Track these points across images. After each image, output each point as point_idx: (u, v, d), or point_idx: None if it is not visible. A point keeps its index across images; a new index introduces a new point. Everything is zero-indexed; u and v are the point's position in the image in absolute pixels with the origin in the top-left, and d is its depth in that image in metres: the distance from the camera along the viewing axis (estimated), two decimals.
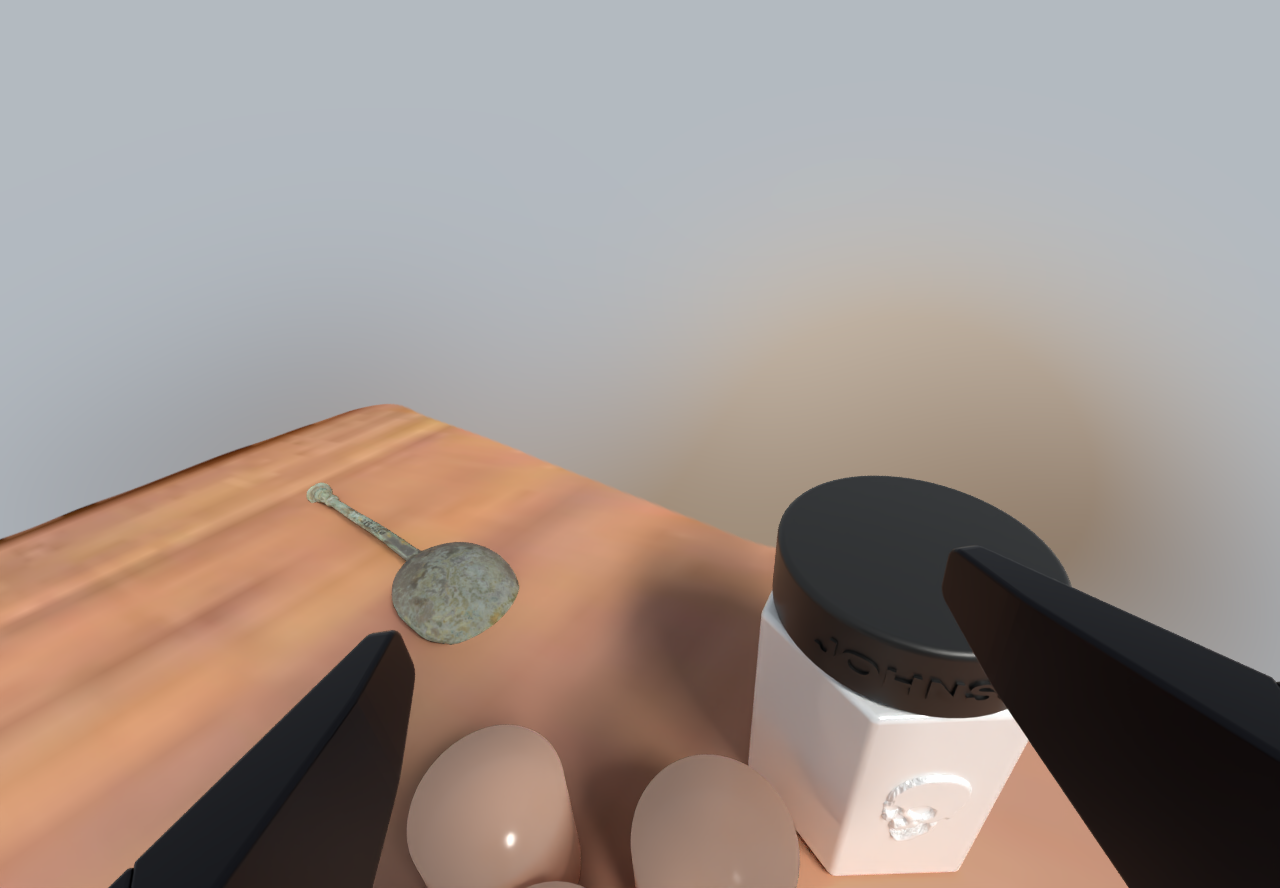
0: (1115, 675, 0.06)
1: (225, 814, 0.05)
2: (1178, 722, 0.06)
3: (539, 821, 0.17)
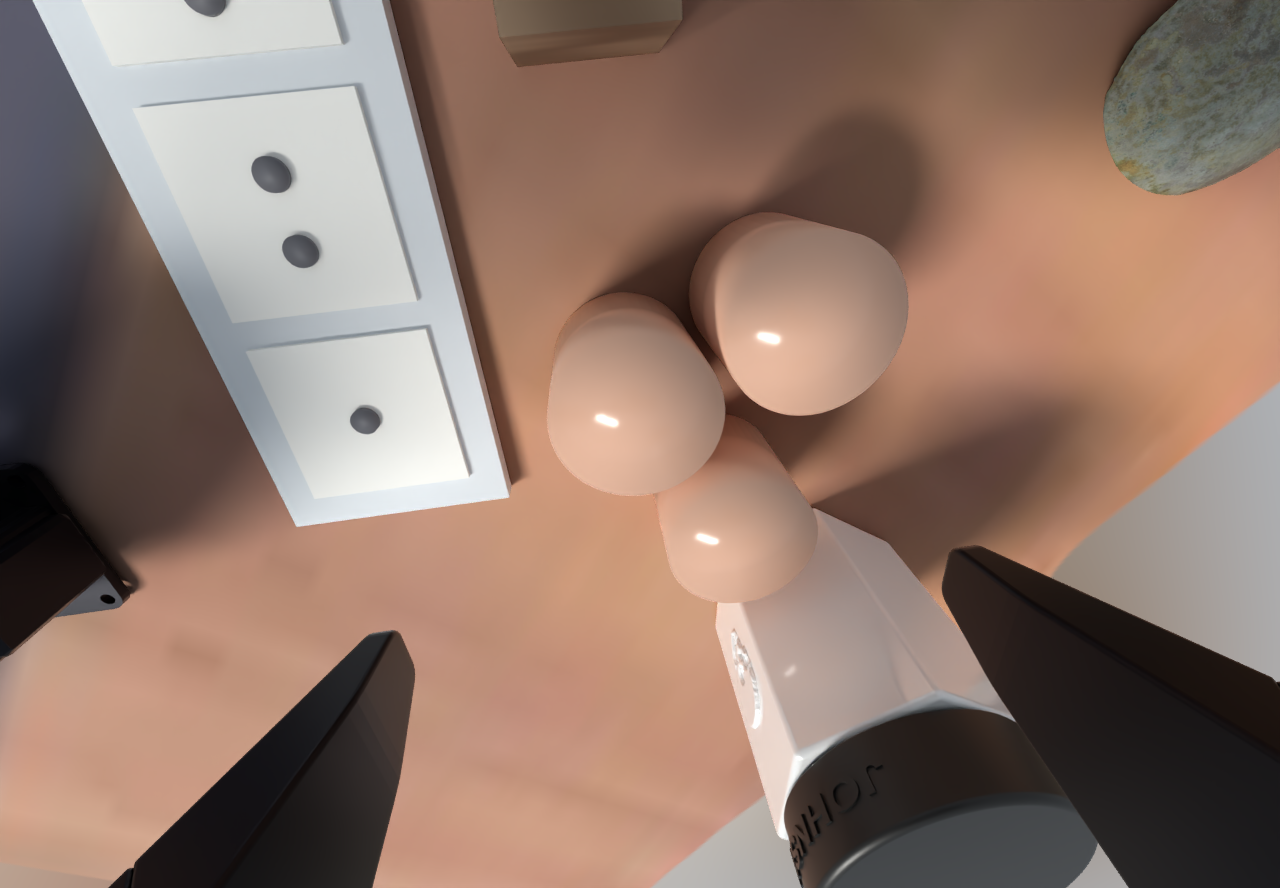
0: (1115, 676, 0.06)
1: (225, 814, 0.05)
2: (1178, 721, 0.06)
3: (781, 394, 0.15)
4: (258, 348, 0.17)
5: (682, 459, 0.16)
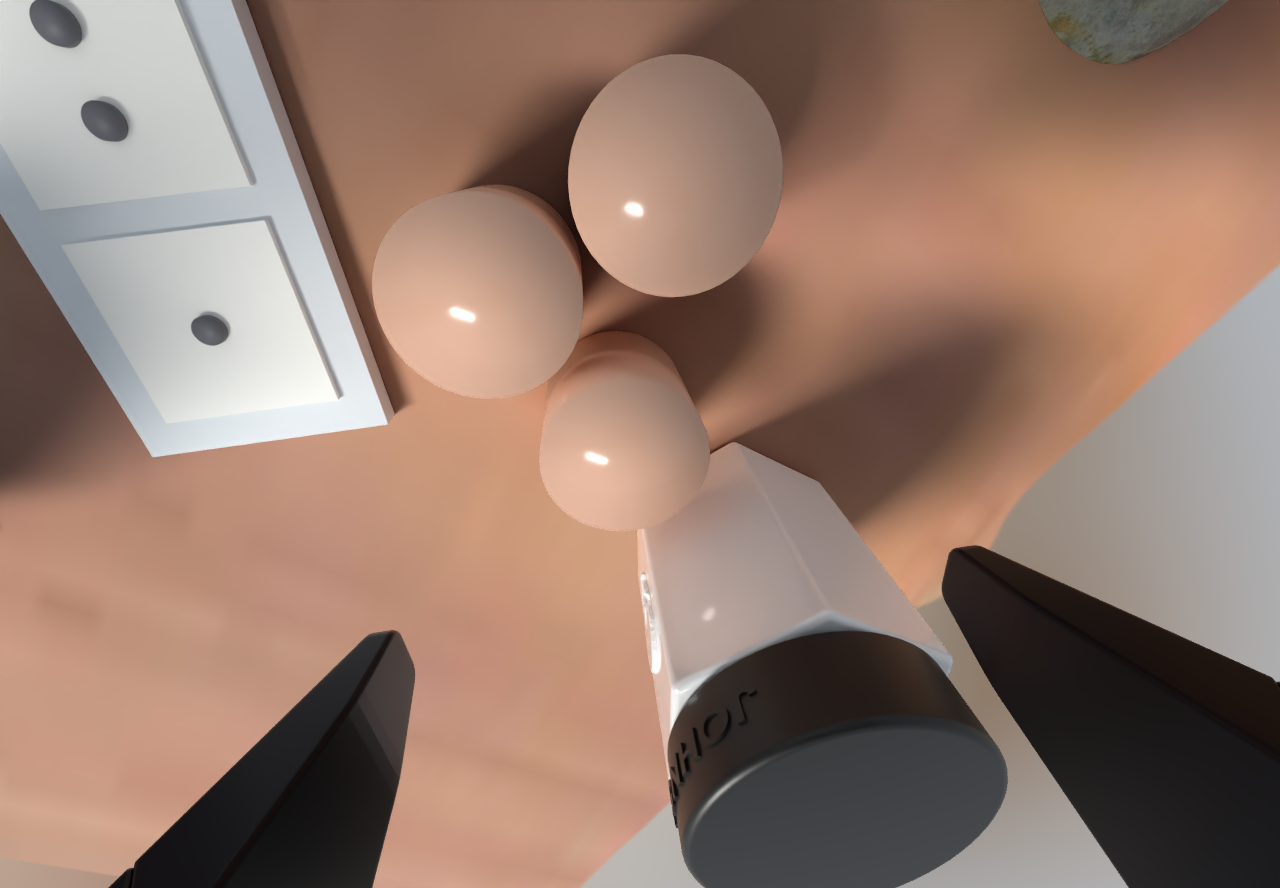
0: (1116, 676, 0.06)
1: (225, 814, 0.05)
2: (1178, 722, 0.06)
3: (645, 268, 0.13)
4: (77, 242, 0.15)
5: (540, 353, 0.14)
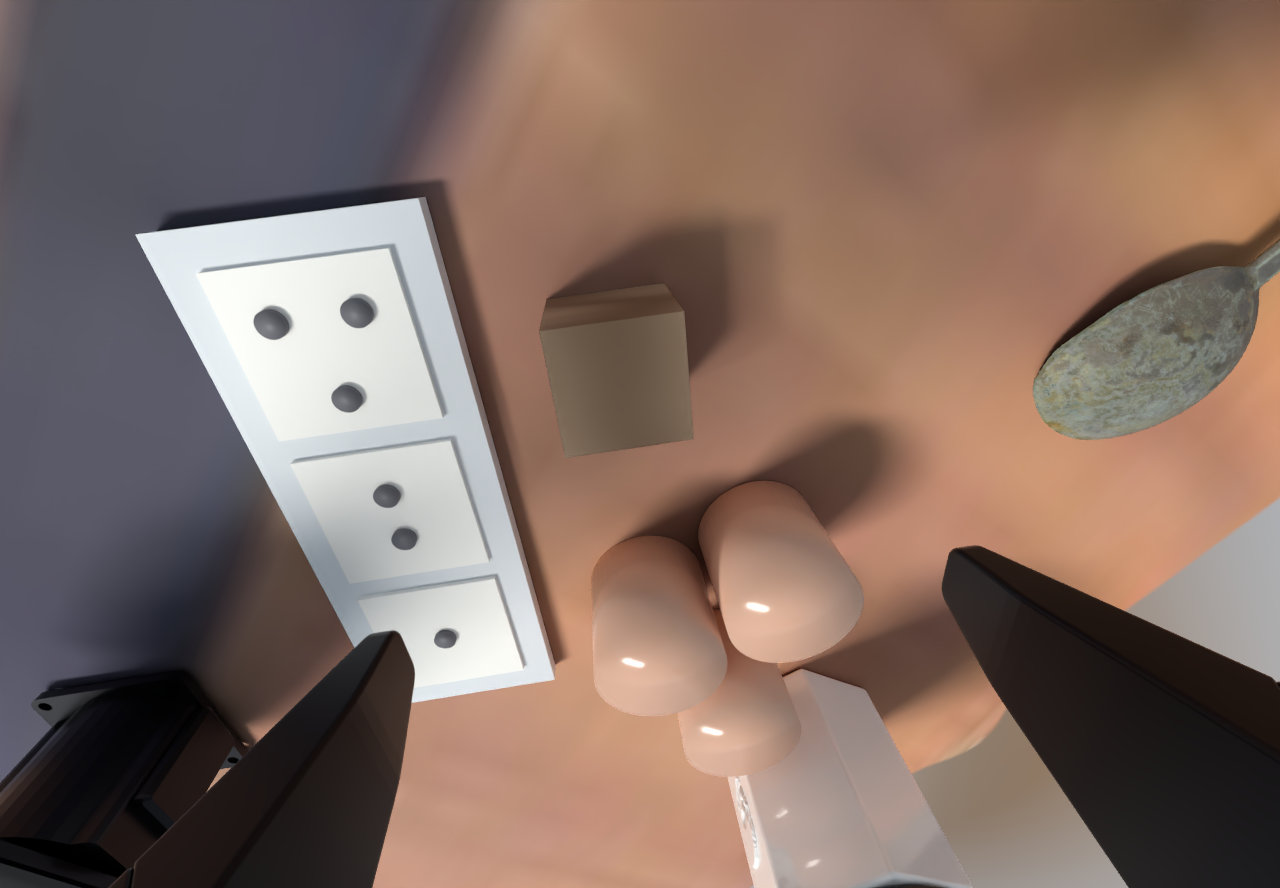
0: (1116, 676, 0.06)
1: (225, 814, 0.05)
2: (1178, 721, 0.06)
3: (768, 651, 0.20)
4: (366, 595, 0.22)
5: (695, 692, 0.20)
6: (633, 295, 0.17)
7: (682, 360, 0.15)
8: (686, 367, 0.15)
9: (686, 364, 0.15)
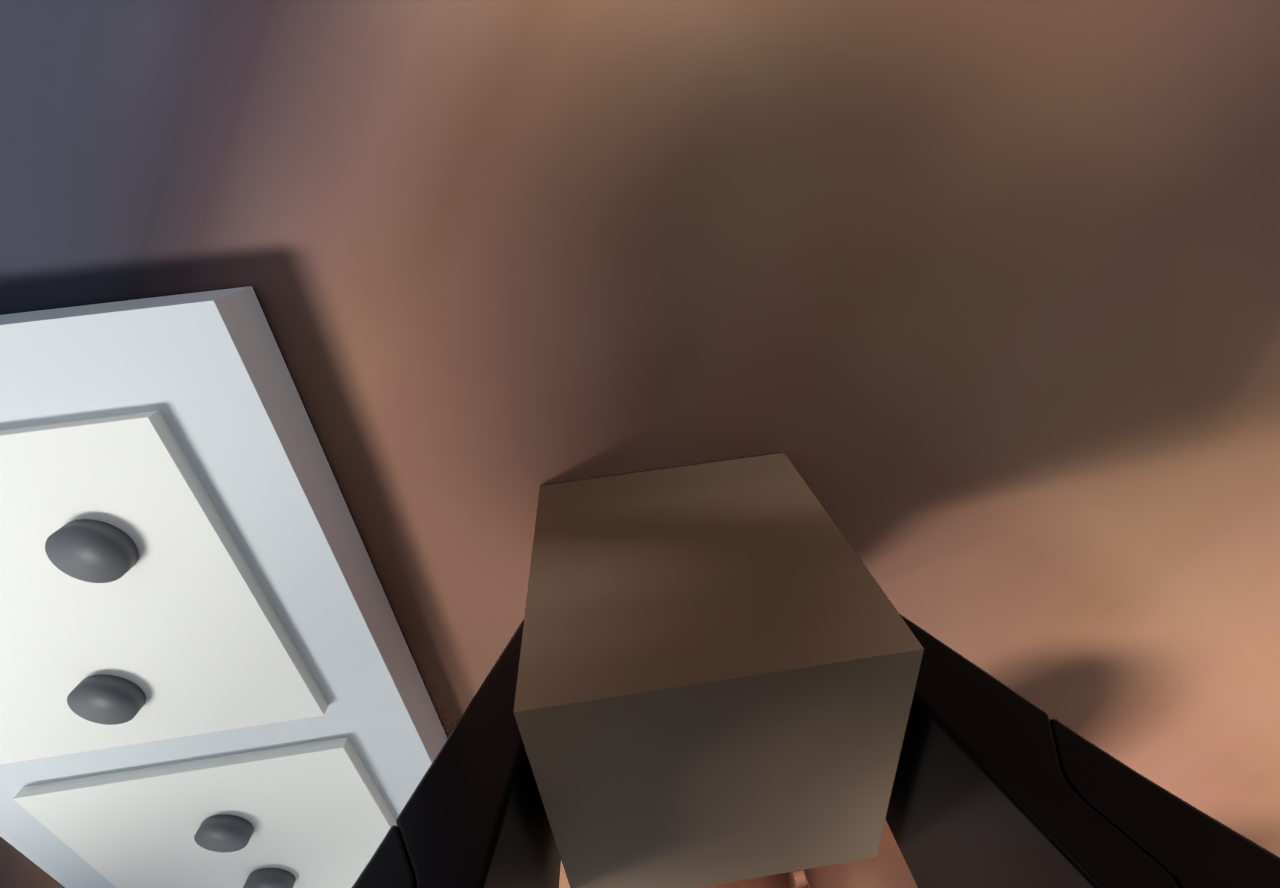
0: (914, 708, 0.06)
1: (467, 775, 0.05)
2: (958, 759, 0.06)
3: None
4: None
5: None
6: (735, 508, 0.07)
7: (890, 739, 0.06)
8: (896, 750, 0.06)
9: (898, 746, 0.06)
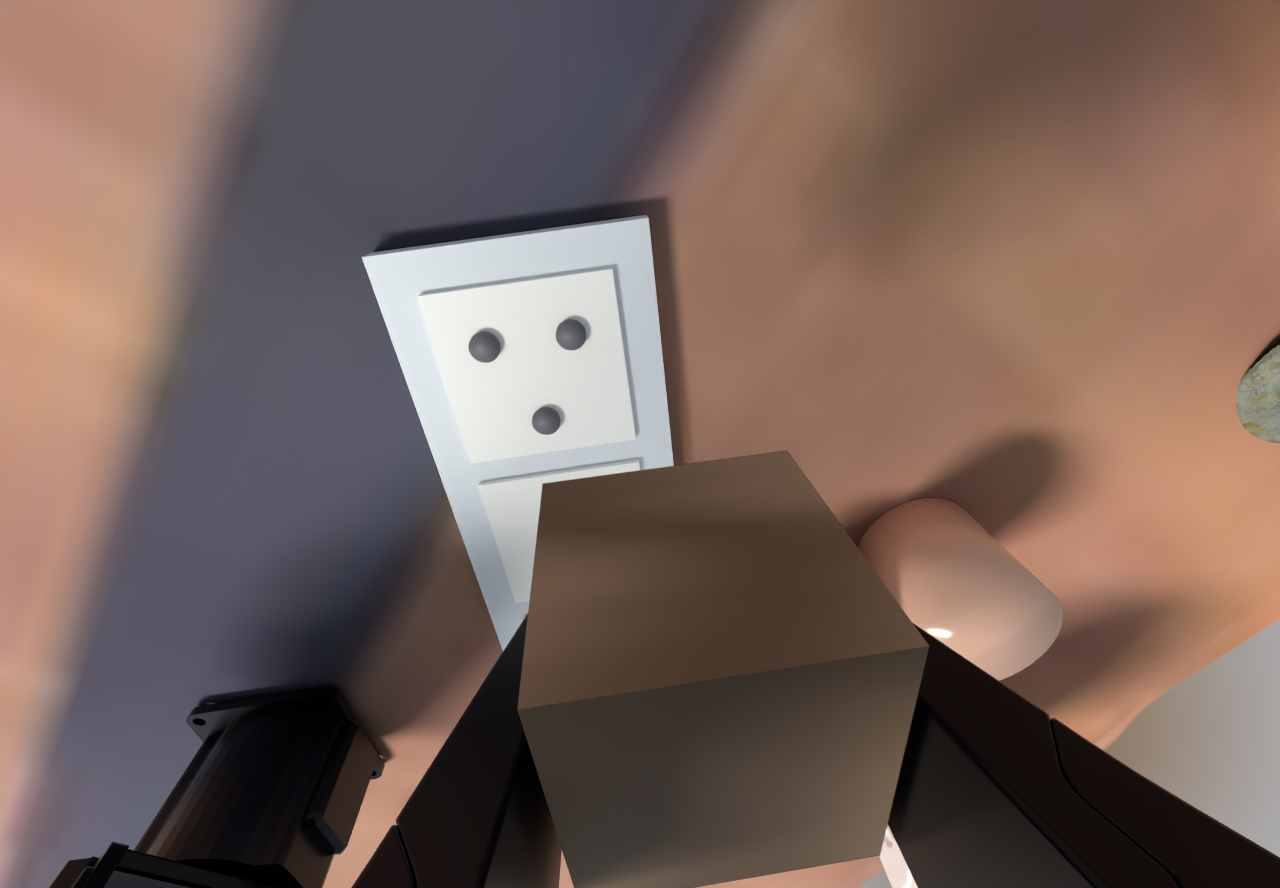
0: (915, 708, 0.06)
1: (467, 776, 0.05)
2: (958, 759, 0.06)
3: None
4: None
5: None
6: (738, 505, 0.07)
7: (894, 737, 0.06)
8: (900, 748, 0.06)
9: (902, 743, 0.06)
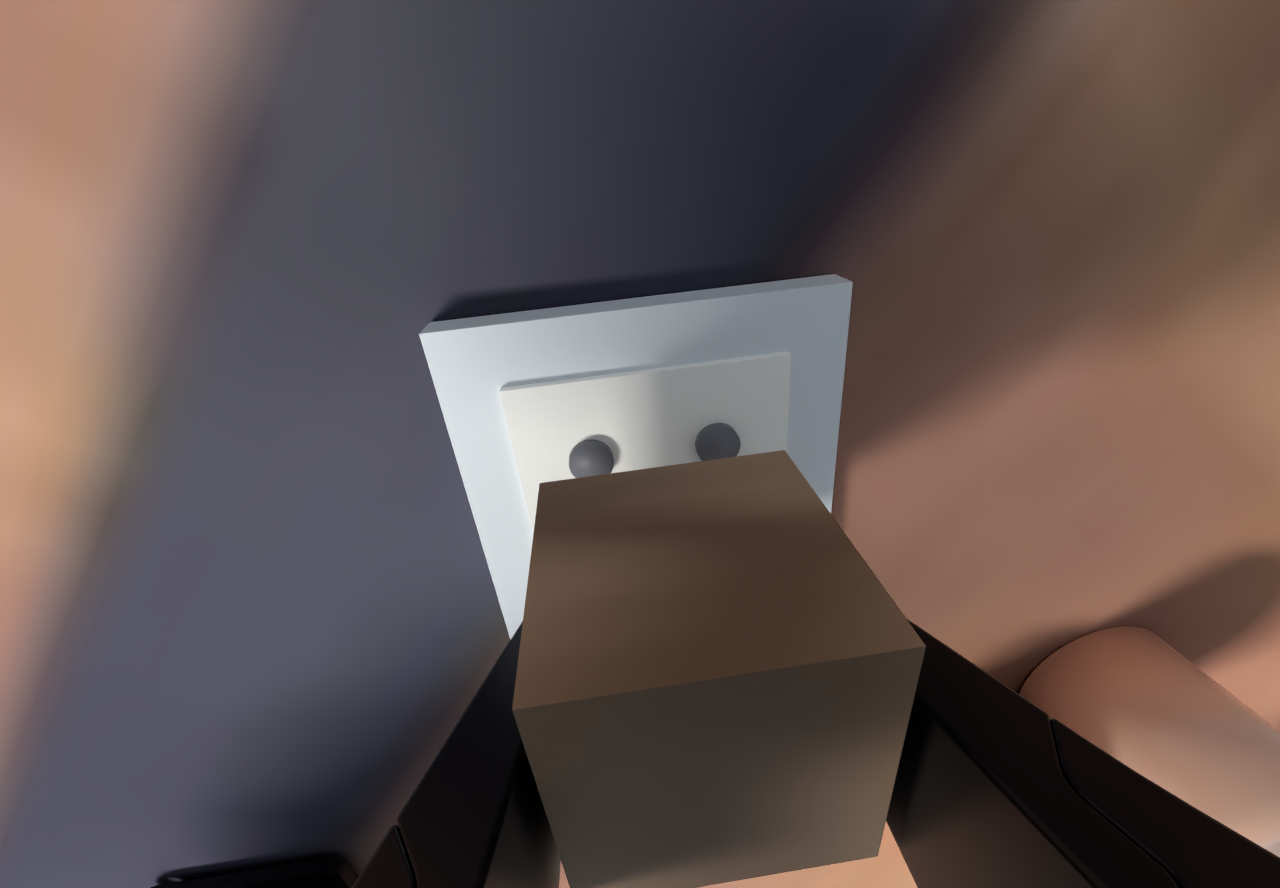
0: (915, 708, 0.06)
1: (467, 775, 0.05)
2: (958, 758, 0.06)
3: None
4: None
5: None
6: (735, 505, 0.07)
7: (891, 738, 0.06)
8: (897, 748, 0.06)
9: (899, 744, 0.06)
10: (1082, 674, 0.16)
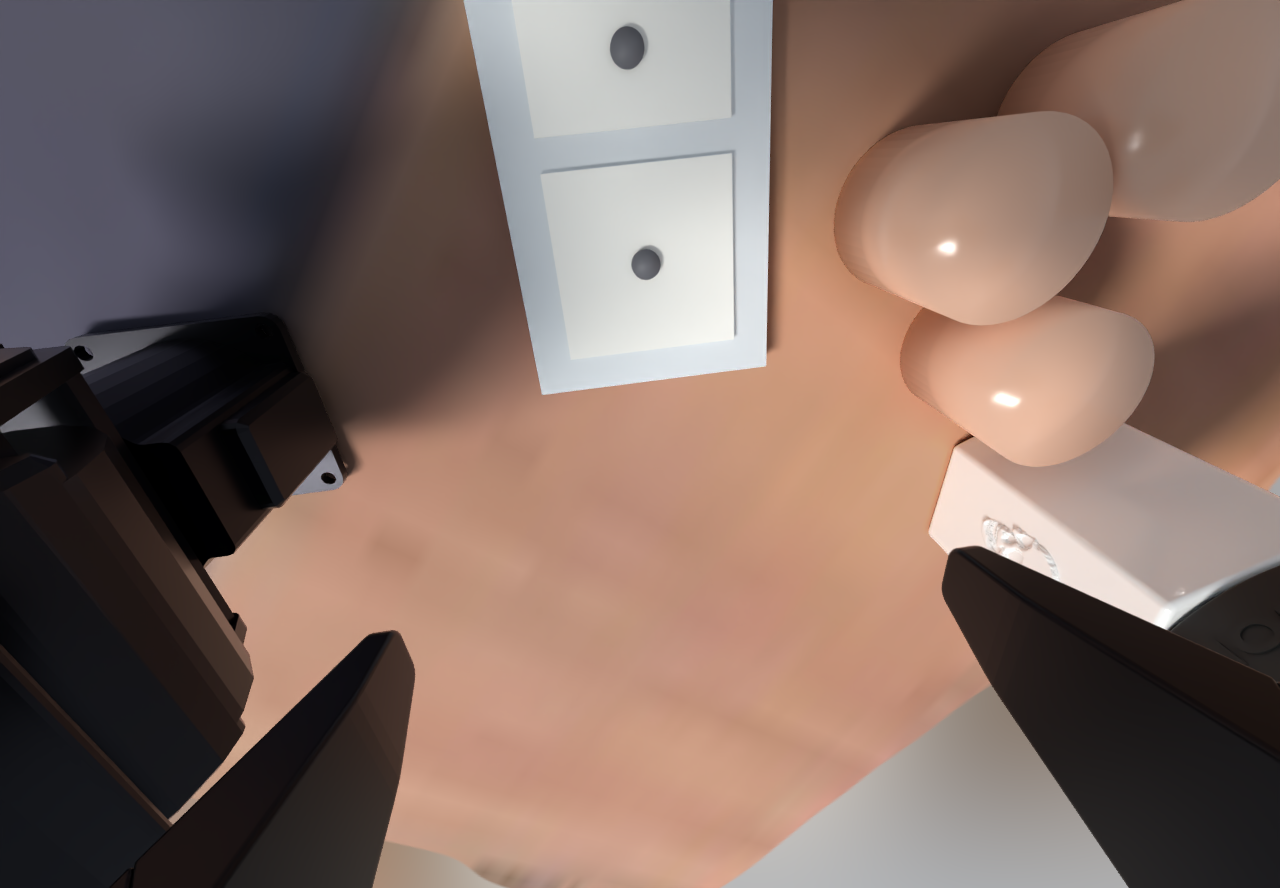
0: (1115, 676, 0.06)
1: (225, 814, 0.05)
2: (1178, 722, 0.06)
3: (1160, 177, 0.13)
4: (550, 172, 0.15)
5: (1044, 280, 0.14)
6: None
7: None
8: None
9: None
10: (1067, 44, 0.15)
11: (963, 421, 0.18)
